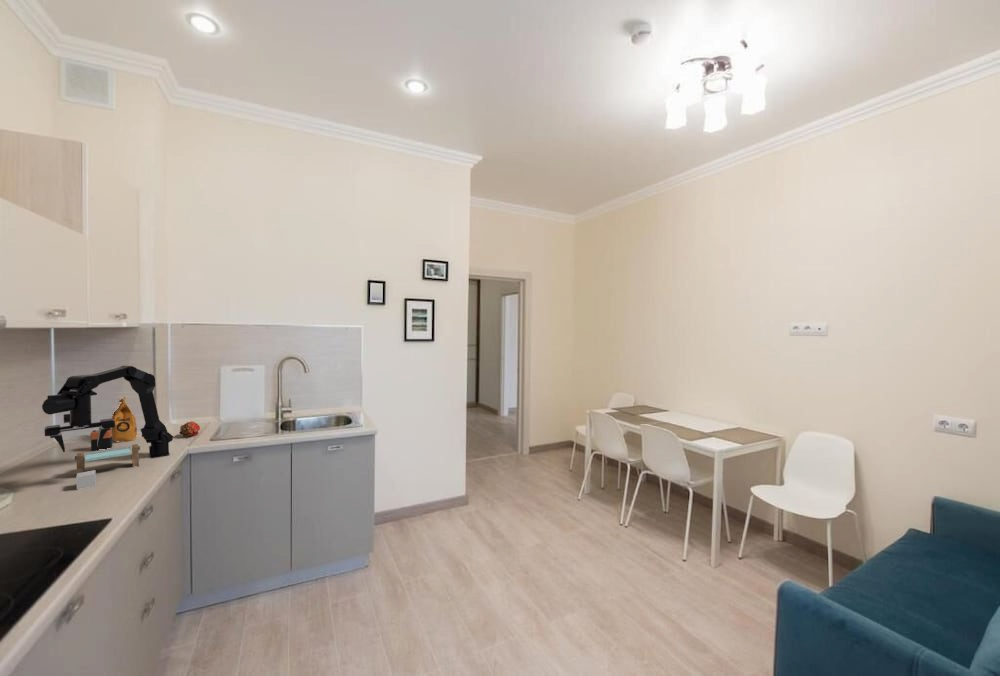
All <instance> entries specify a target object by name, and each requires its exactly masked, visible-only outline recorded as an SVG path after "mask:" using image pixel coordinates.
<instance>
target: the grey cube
mask: <svg viewBox="0 0 1000 676" xmlns="http://www.w3.org/2000/svg"><path fill="white" fill-rule="evenodd" d="M75 479H76V490H77V489H80V488H85V487H90V488H92V487H91V486H97V472H96V470H95V469H93V470H90V471H89V470H88V471H85V472H82V473H77V472H76V478H75ZM85 489H86V488H85ZM80 490H81V489H80Z"/></svg>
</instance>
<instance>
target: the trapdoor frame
mask: <svg viewBox="0 0 1000 676" xmlns="http://www.w3.org/2000/svg"><path fill="white" fill-rule="evenodd" d="M140 450H141V446H139V444H138V443H137V444H131V455H132V456H131V459H132V464H133V465H132V468H135V467H134V466H137V467H140V464H139V462H140V459H139V457H140V456H139V451H140ZM74 460H75V463H76V474H77V473H82V472H86V469H85V467H86V465H85V452H77V453H76V455H74Z"/></svg>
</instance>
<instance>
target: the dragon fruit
mask: <svg viewBox="0 0 1000 676" xmlns="http://www.w3.org/2000/svg"><path fill="white" fill-rule="evenodd" d="M200 430H201V426H200V425H199V424H198V423H197V422H195V421H192V420H191V421H188V422H186V423H184V424H182V425H181V426H180V428H179V432H178V433H179V434H180V435H182V436H184V437H185V438H190V437H189V436H191V437H192V436H197V435H199V431H200Z"/></svg>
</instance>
